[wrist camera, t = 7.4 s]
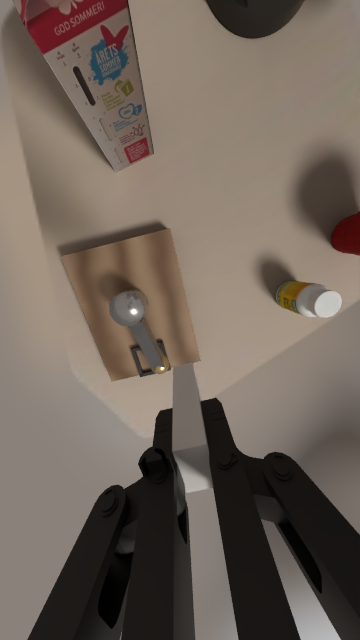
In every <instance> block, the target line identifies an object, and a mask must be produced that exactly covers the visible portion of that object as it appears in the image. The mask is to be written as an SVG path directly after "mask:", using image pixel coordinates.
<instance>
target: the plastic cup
mask: <svg viewBox="0 0 360 640" xmlns="http://www.w3.org/2000/svg"><path fill="white" fill-rule="evenodd" d="M332 245H333V246H334V248H335V249H336V250H338V251H340V252H343V253H349V254H355V255H360V211H359V212H358V213H357V214H354V215H352V216H350V217H348V218H345V219H344V220H342V221H341V222H340V223H339V224H338V225H337V226H336V227H335V229H334V231H333V234H332Z"/></svg>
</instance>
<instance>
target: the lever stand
mask: <svg viewBox="0 0 360 640" xmlns="http://www.w3.org/2000/svg"><path fill="white" fill-rule="evenodd" d="M61 258H62V261H63V263H64V266H65V268H66V271H67V273H68V275H69V278H70V280H71V283H72V285H73V288H74V290H75V293H76V295H77V298H78V300H79V302H80V305H81V307H82V310H83V312H84V315H85V317H86V320H87V322H88V325H89V327H90V329H91V332H92V334H93V337H94V339H95V342H96V344H97V347H98V349H99V352H100V354H101V356H102V359H103V361H104V364H105V366H106V369H107V371H108V374H109V376H110V379H111V381H116V380H120V379H125V378H129V377H133V376H138V375H140V377H143V376H147V375H152V374H156V373H154V372H153V371H152V369H151V367H150V364H149V362H148V360H147V359H146V357H145V355H144V353H143V351H142V349H141V348H140V346H139V344H138V342H137V340H136V338H135V337H134V335H133V333H132V331H131V329H130V328H129V326H122V325H119V324H118V323H116V322H115V321H114V320H113V319H112V317H111V315H110V313H109V305H110V302H111V300H112V299H113V298H114V297H115V296H116V295H118V294H120V293H122V292H124V291H126V290H128V289H137V290H140V291H141V292H143V293H144V294H145V296H146V297H147V300H148V308H147V310H146V312H145V314H144V316H143V317H145V319H146V321H147V323H148V325H149V327H150V329H151V331H152V333H153V335H154V337H155V339H156V341H157V343H158V345H159V347H160V349H161V351H162V352H163V354H164V356H165V357H166V358H167V359H168V361H169V367H168V370H167V371H169V370H171V368H172V367H174V366H178V365H183V364H187V363H191V362H193V363H194V362H198V361H201V360H200V356H199V351H198V347H197V343H196V338H195V334H194V330H193V325H192V321H191V317H190V312H189V308H188V304H187V300H186V295H185V291H184V287H183V282H182V278H181V274H180V269H179V265H178V261H177V256H176V252H175V248H174V243H173V239H172V235H171V231H170V228H169V229H165V230H161V231H157V232H153V233H149V234H145V235H142V236H138V237H134V238H130V239H126V240H122V241H118V242H114V243H111V244H107V245H103V246H99V247H95V248H91V249H87V250H83V251H80V252H76V253H72V254H68V255H64V256H61Z"/></svg>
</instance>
